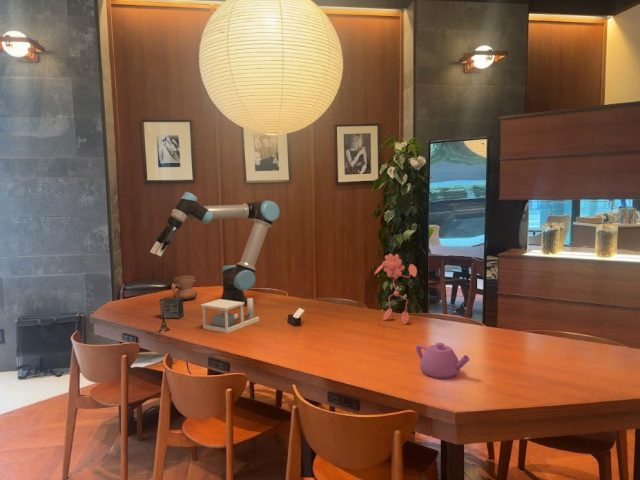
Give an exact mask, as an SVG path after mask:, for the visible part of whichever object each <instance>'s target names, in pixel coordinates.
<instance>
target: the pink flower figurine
mask: <svg viewBox="0 0 640 480" xmlns="http://www.w3.org/2000/svg"><path fill="white" fill-rule="evenodd" d="M384 258H385V259H384V260H383V262H381V264H380V266H378V267H377V269H375V271H374V274H373V275H376V274H378V273H379V272H380V271H381V270H382V269H383V272H385V273H386V275H387V278H394V279H393V280H392V283H393V288H394V292H393V294H391V295H388V307H389V308H388V309H386V311H385V312H384V313H383V316H382V317H383V319H382V320H383V321H386V320H388V319H389V318H390V316H391V318H392V320H394V319H395V318H394V316H393V309H392V308H391V303H390V298H391V297H392V296H395V297H398V296H399V297H401V298H403V299H405V300H406V304H405V310H404V311H403V312H402V314H401V315H400V316H401V321H402V322H403V324H404V325H406V324H408V323H409V319H410V316H409V313H408V311H407V306H408V299H407V298H406V297H404V296H403V295H400V291H398V290H397V288H396V284H395V281H396V280H397V279H398V278H399V277H404V278H407V279H410V277H411V276H412V277H413V278H416V276H417V273H418V270H417V269H418V268H417V267H416V266H415V265H414V264H412V263H410V264H409V266H408V272H409V273H408V275H409V276H408V275H403V273H402V272H403V271H404V270H405V268H406V267H405V265H403V263H402V262H403V260H402V259H400V256H399V254H398V253H396V254H395V255H393V254H392V253H388V255H385V256H384ZM377 325H378V326H381V327H383V328H386V326H383V325H381V324H379V323H378V324H377ZM387 328H388V329H391V327H387ZM394 329H395V330H396V329H399V327H394Z"/></svg>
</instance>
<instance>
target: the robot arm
mask: <svg viewBox="0 0 640 480" xmlns="http://www.w3.org/2000/svg"><path fill="white" fill-rule="evenodd" d="M197 201H198V197H197V196H196V195H194V194H193V193H191V192H189V191H185V192H184V193H183V194H182V196H181V197H180V199H179V201H178V202H177V203H176V205H175V208H174V209H172V211H171V213H170V216H169V217H168V218H167V220H166V223H167V224H168V225H165V227H164V228H163V230H162V231H161V233H159V235H158V237H157V238H156V240H155V242H154V244H153V246H152V248H151V249H150V251H149V252H150V253H151V254H153V255H157V256H158V257H162V256H163V253H164V252H165V250H166V248H167V247H168V245H170V244H171V242H172V241H173V239H174V236H175V233H176V231H177V230H178V229H180V228H181V227H182V225H183V223H184V222H185V220H186V219H189V220H191V221H200V222H201V223H203V224H204V225H208V224H210V222H211V221H212V220H213V219H214V220H215V219H234V218H236V219H237V218H244V219H247V220H249V219H250V220H253V222H254V224H253V226H252V229H251V232H250V234H249V237H248V239H247V242H246V245H245V248H244V250H243V253H242V255H241V256H242V257H241V259H240V261H239V262H237V263H236V264H230V265H223V267H221V270H222V271H221V272H222V289H223V290H222V294H221V298H220V299H222V300H230V301H238V302H244V303H245V304H246V303H247V298H246V295H245V293H244V292H245V291H247V290H249V289H252V287H253V286H254V285H255V283H256V275H255V273H256V271H257V269H256V267H255V266H256V263H257V260H258V258H259V255H260V252H261V250H262V247H263V243H264V241H265V238H266V235H267V233H268V230H269V228H271V227H273V223H274V221H276V220H277V219H278V218H279V217H280V214H281V212H280V211H281V210H280V208H279V205H278V204H277V203H276V202H274V201H272V200H256V201H250V202H243V204H226V205H225V204H224V205H201V204H200V203H199V202H197Z"/></svg>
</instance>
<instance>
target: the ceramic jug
mask: <svg viewBox="0 0 640 480" xmlns="http://www.w3.org/2000/svg"><path fill="white" fill-rule="evenodd" d="M173 281H174V284H173V285H172V286H171V290H172V293H173V295H172V296H173V297H172V298H183V302H184V301H191V300H193V299H195V298H196V297H197V296H198V292H197V290H195V289H194V288H193V285H194V283H195V282H197V281H196V279H195V276H194V275H183V276H177V277H174V278H173ZM176 288H177V290H176Z"/></svg>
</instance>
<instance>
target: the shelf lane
mask: <svg viewBox="0 0 640 480" xmlns="http://www.w3.org/2000/svg"><path fill="white" fill-rule="evenodd" d="M245 304H246V303H244V302H238V301H230V300H222V299H221V298H219V299H215V300H212V301H208V302H206V303H205V302H204V303H202V304H200V308H201V309H202V328H203V330H209V331H214V332H218V333H224V334H229V333H231V332H233V331H236V330H239V329H241V328H243V327H246V326H249V325H252V324H254V323H256V322H259V321H260V316H256V317H254V318H249V319H248V320H245V318H244V316H245V315H244V305H245ZM238 307H239V308H240V309H239V312H240V317H241V319H240V323H237V324H235V325H234V326H232V327H229V328H228V311H229V310H232V309H235V308H238ZM206 308H208V309H214V310H218V314H221V313H223V311H224V313H225V328H222V327H216V326H212V321H211V322H208V323H207V313H206V312H207V311H206ZM233 314H234V313H233ZM238 318H239V313H235V314H234V319H238ZM244 320H245V321H244Z"/></svg>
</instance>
